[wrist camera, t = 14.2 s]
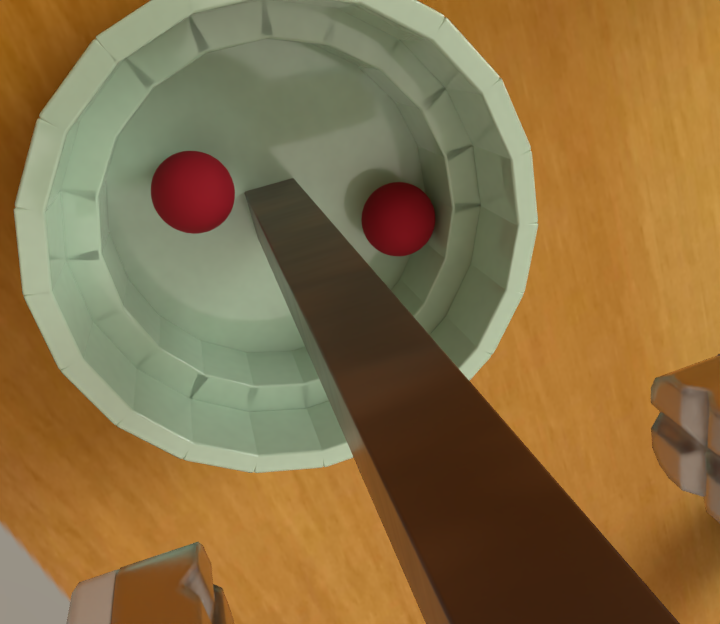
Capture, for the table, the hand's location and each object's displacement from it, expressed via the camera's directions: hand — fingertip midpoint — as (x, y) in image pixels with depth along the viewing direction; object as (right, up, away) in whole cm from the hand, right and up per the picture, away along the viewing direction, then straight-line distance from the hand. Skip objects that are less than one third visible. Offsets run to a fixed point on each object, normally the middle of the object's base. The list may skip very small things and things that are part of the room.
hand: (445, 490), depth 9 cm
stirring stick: (-4, +6, +14) cm, 16 cm away
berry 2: (0, +6, +14) cm, 15 cm away
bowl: (-4, +6, +15) cm, 16 cm away
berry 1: (-6, +6, +12) cm, 15 cm away
